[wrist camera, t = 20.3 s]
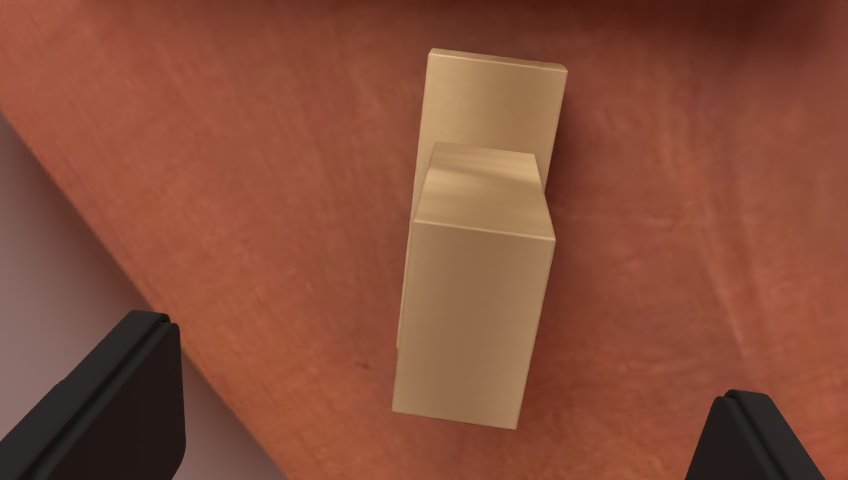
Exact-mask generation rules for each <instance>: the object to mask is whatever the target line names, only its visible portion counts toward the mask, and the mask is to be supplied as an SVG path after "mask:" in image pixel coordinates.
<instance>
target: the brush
mask: <svg viewBox="0 0 848 480" xmlns="http://www.w3.org/2000/svg"><path fill="white" fill-rule="evenodd" d="M567 75H568V71H567V69H566V68H565V67H564V65H562V64H557V63H549V62H541V61H533V60H525V59H517V58H509V57H501V56H493V55H485V54H477V53H469V52H461V51H453V50H445V49H438V48H432V49H431V51H430V53H429V54H428V61H427V70H426V79H425V88H424V97H423V107H422V116H421V125H420V134H419V143H418V152H417V161H416V170H415V180H414V189H413V198H412V207H411V216H410V225H409V234H408V244H407V253H406V262H405V271H404V280H403V289H402V298H401V307H400V317H399V326H398V335H397V344H396V347H397V348H398V356H397V365H396V374H395V383H394V392H393V401H392V412H395V413H402V414H408V415H415V416H422V417H429V418H435V419H442V420H449V421H456V422H462V423H469V424H476V425H483V426H489V427H496V428H503V429H510V430H515V429H516V428H517V424H518V419H519V414H520V410H521V405H522V400H523V395H524V391H525V386H526V381H527V376H528V372H529V367H530V362H531V358H532V353H533V348H534V343H535V339H536V334H537V329H538V325H539V320H540V315H541V310H542V306H543V301H544V296H545V291H546V287H547V282H548V277H549V273H550V268H551V263H552V258H553V254H554V249H555V244H556V238H555V234H554V230H553V226H552V222H551V218H550V214H549V210H548V206H547V202H546V199H545V195H544V192H545V187H546V182H547V177H548V172H549V167H550V161H551V156H552V151H553V146H554V141H555V136H556V131H557V126H558V121H559V116H560V111H561V106H562V101H563V95H564V90H565V85H566V80H567Z"/></svg>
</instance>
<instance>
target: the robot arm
mask: <svg viewBox="0 0 848 480" xmlns="http://www.w3.org/2000/svg"><path fill="white" fill-rule="evenodd" d="M183 400H184V399H183V382H182V364H181V346H180V330H179V326H178V325H177V324H175V323H171V321H170V318H169V316H168V315H167V314H163V313H156V312H148V311H141V310H132V311H131V312H129V313H128V314H127V315H126V316H125V317H124V318H123V319H122V320H121V321H120V322H119V323H118V324H117V326H115V328H113V330H112V331H111V332H110V333H109V334H108V335H107V336H106V337H105V338H104V339H103V340H102V341H101V342H100V343H99V344H98V345H97V346H96V347H95V348H94V349H93V350H92V351H91V352H90V353H89V354H88V355H87V356H86V357H85V358H84V359H83V360H82V361H81V362H80V364H78V366H77V367H76V368H75V369H74V370H73V371H72V372H71V373H70V374H69V375H68V376H67V377H66V378H65V379H64V380H62V381H60V382H59V383H58V384H57V385H55V386H54V387H53V388H52V389H51V390H50V391H49V392H48V393H47V394H46V395H45V396H44V397H43V399H41V400H40V402H39V403H38V404H37V405H36V406H35V407H34V408H33V409H32V410H31V411H30V412H29V413H28V414H27V415H26V416H25V417H24V418H23V419H22V420H21V421H20V422H19V423H18V424H17V425H16V426H15V427H14V428H13V429H12V430H11V431H10V432H9V433H8V434H7V435H6V436H5V437H4V438H3V439H2V441H0V480H172V478H173V477H174V475H175V473H176V471H177V470H178V468H179V466H180V464H181V462H182V459H183V457H184V453H185V447H186V436H185V417H184V401H183ZM685 480H825V479H824V477H823V476H822V474H821V473H820V471H819V470H818V468H817V467H816V465H815V464H814V462H813V461H812V459H811V458H810V456H809V455H808V453H807V452H806V450H805V449H804V447H803V446H802V444H801V443H800V441H799V440H798V438H797V437H796V435H795V434H794V432H793V431H792V429H791V428H790V426H789V425H788V423H787V422H786V421H785V419H784V418H783V416H782V415H781V413H780V412H779V410H778V409H777V407H776V406H775V404H774V403H773V401H772V400H771V398H770V397H769V396H768V395H766V394H763V393H756V392H748V391H741V390H733V389H732V390H728V392H727V393H726V394H725V395H724V397H721V396H719V397H717V398H716V399H715V400H714V402H713V404H712V407H711V409H710V412H709V415H708V417H707V420H706V423H705V426H704V428H703V431H702V434H701V437H700V439H699V442H698V445H697V448H696V450H695V453H694V456H693V459H692V461H691V464H690V467H689V470H688V472H687V475H686V478H685Z"/></svg>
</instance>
